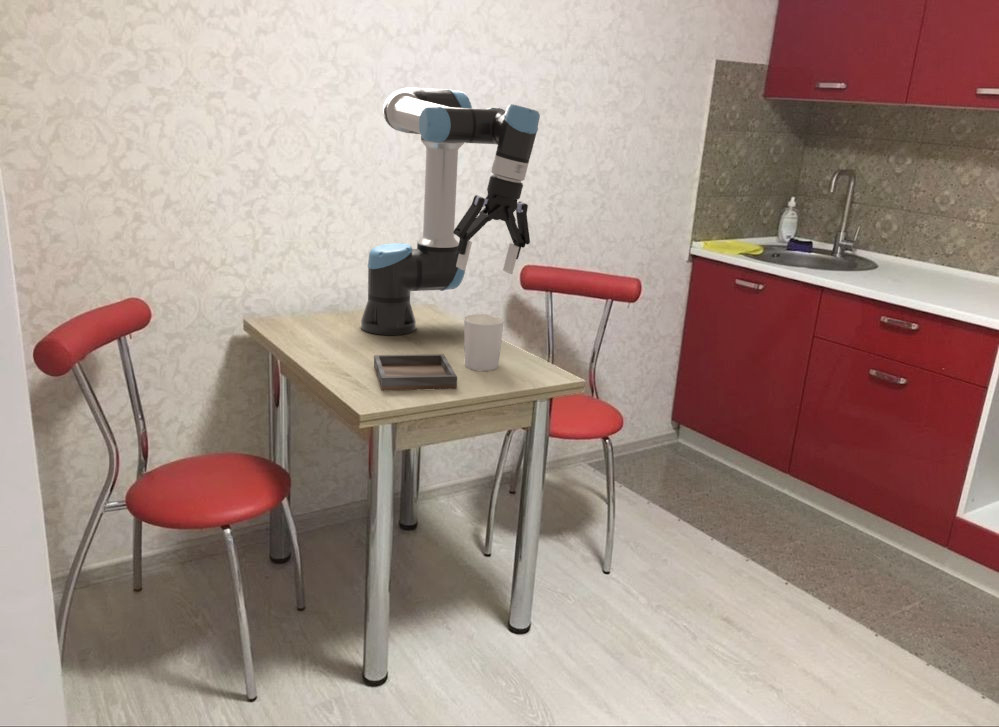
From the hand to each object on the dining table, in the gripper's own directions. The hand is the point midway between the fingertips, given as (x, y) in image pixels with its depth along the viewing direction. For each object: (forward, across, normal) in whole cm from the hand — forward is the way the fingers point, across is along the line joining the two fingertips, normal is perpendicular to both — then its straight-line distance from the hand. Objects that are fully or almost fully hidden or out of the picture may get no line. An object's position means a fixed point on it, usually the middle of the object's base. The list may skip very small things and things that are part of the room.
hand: (484, 270), depth 195 cm
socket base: (+28, -9, +4) cm, 30 cm away
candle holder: (+26, +10, +5) cm, 28 cm away
